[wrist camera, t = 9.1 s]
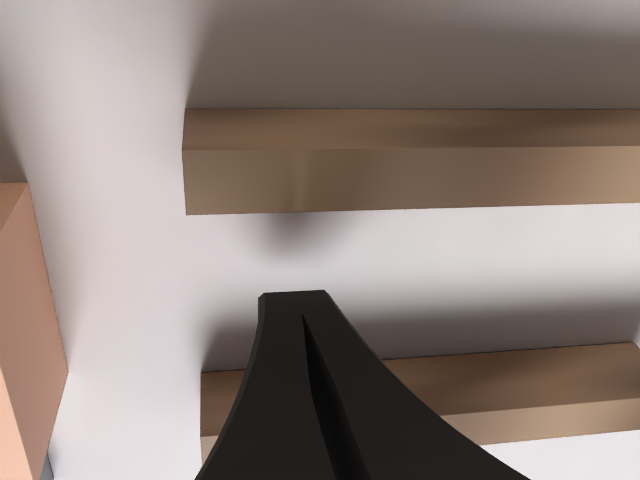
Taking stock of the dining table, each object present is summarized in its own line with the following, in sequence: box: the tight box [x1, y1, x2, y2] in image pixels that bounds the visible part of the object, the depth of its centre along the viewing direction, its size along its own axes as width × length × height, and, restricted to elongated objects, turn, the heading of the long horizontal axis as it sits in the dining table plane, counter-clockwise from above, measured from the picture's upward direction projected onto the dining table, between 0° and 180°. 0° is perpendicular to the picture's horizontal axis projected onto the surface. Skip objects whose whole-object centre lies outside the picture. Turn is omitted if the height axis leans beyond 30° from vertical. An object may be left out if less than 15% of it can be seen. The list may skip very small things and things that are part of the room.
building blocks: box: [39, 109, 640, 480], centre depth 13 cm, size 22×13×2 cm, turn 86°
